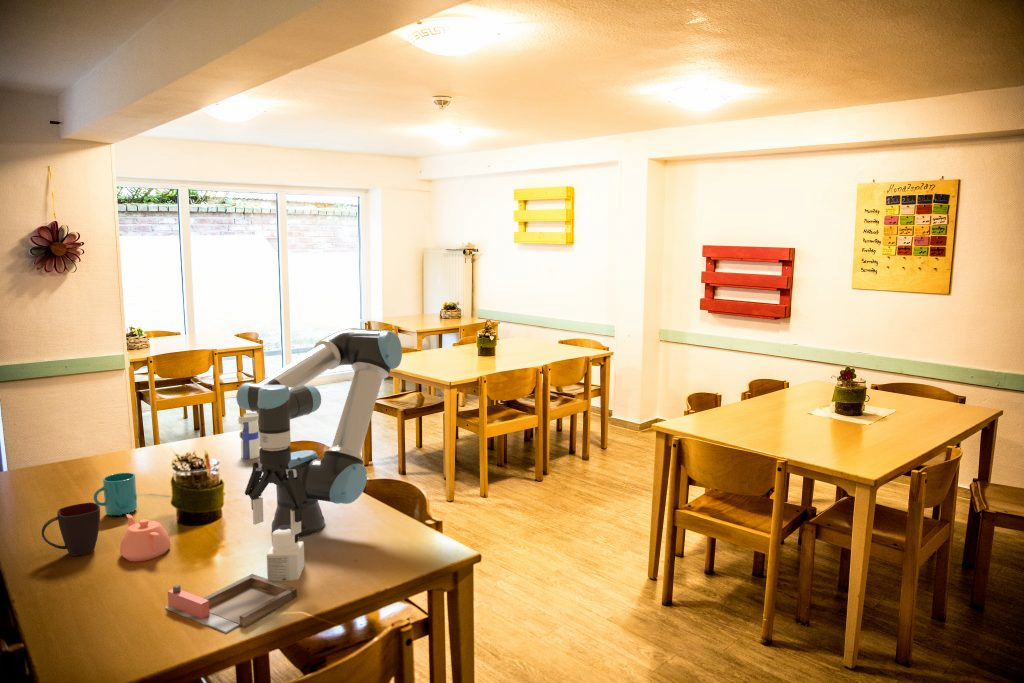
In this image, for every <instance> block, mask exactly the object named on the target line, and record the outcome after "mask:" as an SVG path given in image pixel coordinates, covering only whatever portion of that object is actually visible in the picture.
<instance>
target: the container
mask: <svg viewBox="0 0 1024 683" xmlns="http://www.w3.org/2000/svg"><path fill="white" fill-rule="evenodd" d="M304 568H305V542H304V541H303V540H302V541H300V537H299V535H298V534H296V535H291V525H282V526H278V527H276V528H274V529H273V531H272V530H271V546H270V548H269V550H268V552H267V554H266V571H267V573H266V574H267V579H269V580H272V581H275V582H280V581H283V582H284V581H299V579H300V578H301V575H302V573H303V570H304Z"/></svg>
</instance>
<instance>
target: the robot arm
mask: <svg viewBox="0 0 1024 683" xmlns="http://www.w3.org/2000/svg"><path fill="white" fill-rule="evenodd" d="M402 357H403V348H402V343H401V339H400V338H399V336H398V335H397V333H395V332H394V331H391V330H384V329H381V328H380V329H372V328H371V329H369V328H356V327H355V328H353V327H352V328H346V329H342V330H340V331H336V332H334V333H332V334H330V335H328V336H326V337H324V338H322V339H320V340H319V341H317V342H316V343H315V345H314V347H313V348H311V350H309V351H307V352H306V353H304V354H303V355H301V356H299V357H298V358H296V359H295V360H293V361H291V362H290V363H288V364H286V365H284V366H283V367H282V368H280V369H279V370H277V371H275V372H273V373H271V374H270V375H269V376H267V377H265V378H264V379H262V380H259V382H253V381H252V382H244V383H242V384H241V385H240V386H239V387H238V389H237V391H236V398H235V399H236V402H237V405H238V407H239V408H240V409H242V410H246V411H251V413H256V412H258V417H259V420H258V428H259V446H260V447H261V448H260V450H259V457H258V458H259V460H258V461H256V462H253V463H252V471H251V474H250V476H249V479H248V482H247V485H246V488H245V491H244V495H245V496H249V498H250V500H251V501H250V502H251V510H252V524H253V525H255V526H256V525H258V524H260V523H263V522H264V497H263V492H264V491H265V490H266V488H267V487H268V485H269V484H274V485H275V486H276V487H275V488H276V509H275V512H274V516H273V517H274V518H273V520H272V523H271V532H272V531H273V529H274V528H276V527H278V526H282V525H291V535H296V534H298V535H299V538H302V537H303V538H304V537H308V536H311V535H314V534H317V533H319V532H320V531H321V530H322V529H323V528H324V527H325V526H326V525H325V524H326V523H325V517H324V515H323V512H322V508H321V506H320V503H319V501H324V502H330V503H332V504H333V503H334V504H337V505H339V504H341V505H342V504H343V505H344V504H345V505H348V504H352V503H353V502H355V501H357V500H358V499H359V498H360V496H361V495H362V493H363V492H364V490H365V488H366V484H367V480H368V476H367V475H368V471H367V469H366V466H364V465H363V464H364V462H365V461H364V459H363V456H362V455H361V453H362V449H363V446H364V443H365V439H366V437H367V433H368V429H369V426H370V423H371V420H372V415H373V414H374V413H373V412H374V410H375V406H376V402H377V398H378V396H379V392H380V388H381V385H382V381H383V380H385V379H387V378H389V377H390V376H389V375H390V372H391V370H394V369H397V368H399V366H401V365H400V364H401V362H402ZM348 365H349V366H351V368H352V370H353V371H354V374H353V377H352V380H351V384H350V387H349V391H348V393H347V396H346V400H345V403H344V407H343V409H342V413H341V415H340V420H339V423H338V425H337V429H336V432H335V435H334V438H333V440H332V444H331V446H330V447H329V448H328V449H325V450H324V453H323V456H322V458H318V453H317V451H315V450H310V449H308V450H307V449H306V450H297V451H292V450H291V447H290V445H292V444H291V443H292V441H291V420H294V419H296V418H300V417H303V416H309V415H310V414H311V413H314V412H315V411H317V410H318V409H319V408H320V406H321V404H322V395H321V393H320V391H319V389H318V388H317V387H316V386H314V385H310V384H309V385H306V384H308V383H309V382H312V380H314V379H316V378H317V377H318V376H320V375H321V374H323V373H324V372H325V371H328V370H334V369H336V368H337V367H340V366H348Z"/></svg>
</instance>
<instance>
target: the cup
mask: <svg viewBox="0 0 1024 683" xmlns="http://www.w3.org/2000/svg"><path fill="white" fill-rule="evenodd" d="M102 491H103V502H100V501H99V500H98V495H99V493H101V492H102ZM137 497H138V495H137V479H136V474H135V473H132V472H119V473H113V474H110V475H106V476H105V477H103V478H102V487H100V488H98V489H97V490H96V491H95V492H94V493H93V496H92V498H93V503H96V504H98V505H99V506H100V507H103V506H104V513H105V514H106V515H108V516H112V515H118V516H123V515H122V514H125V515H127V513H128V514H131V513H133V512H134V510H135V511H136V510H137V509H138V500H137V499H138V498H137ZM130 512H131V513H130Z"/></svg>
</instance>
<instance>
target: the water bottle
mask: <svg viewBox="0 0 1024 683" xmlns="http://www.w3.org/2000/svg"><path fill="white" fill-rule="evenodd" d="M237 420H238V424H241V429H240V431H239V438H240V439H241V441H240V458H241V459H242V460H243V459H244V460H250V459H251V460H252V459H257V458H259V450H260V448H261V447H260V446H259V417H258V413H256V412H246V413H243V416H240V415H238V419H237Z"/></svg>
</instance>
